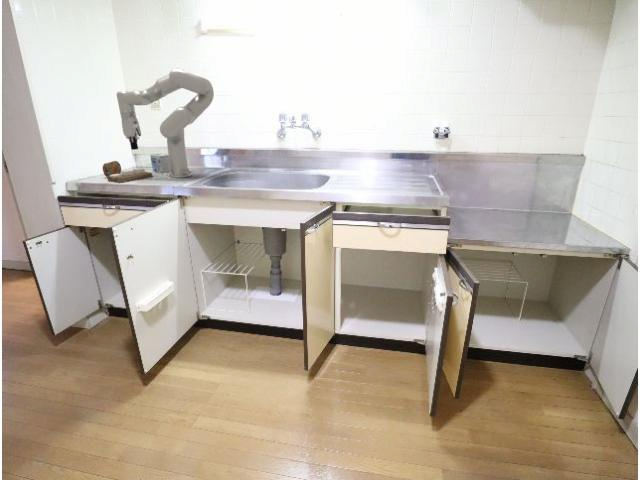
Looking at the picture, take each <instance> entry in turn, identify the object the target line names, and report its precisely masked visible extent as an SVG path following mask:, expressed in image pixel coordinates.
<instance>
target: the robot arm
mask: <svg viewBox="0 0 640 480" xmlns="http://www.w3.org/2000/svg"><path fill="white" fill-rule="evenodd" d="M181 89H184V90H187V91H190V92H192V93H195V94H196V95H195V96H194V97H193V98H191V100H190V101H189V102H188V103H186V104H185V105H184V106H179V107H178V108H176V109H174V110H173V111H172V112H171V113H170V114H169V115H168V117H166V118H165V119H164V120H163V121H162V122H161V123H160V125H159V132H160V134H161V136H162V137H164V138H166V144H167V145H166V146H167V153H168V154H167V155H169V161H170V167H171V172H170V174H168V177H169V178H174V179H178V178H179V179H182V178H189V177H190V176H191V177H192V171H191V170H190V168H189V167H188V158H187V157H188V156H187V151H186V143H185V130H184V129H185V128H186V127H188V126H189V125H192V124H193V123H194V122H195V121H196V120H197V119H198V118H199V117H200V116H201V115H202V114H203V113H204V112H205V111H206V110H207V109H208V108H209V107H210V106H211V104H212V102H213V100H214V96H215V93H214V87H213V85H212V83H211V81H210V80H209V79H207V78H205V77H203V76H198V75H196V74H193V73H191V72H188V71H187V70H184V69H182V68H179V67H178V68H177V67H175V68H173V69H171V70H170V72H169V73H168V74H167V75H164V76H162V77H160V78H158V79H156V81H155V83H154V84H153V85H152V86H150V87H148V88H145V89H144V90H130V91H127V90H125V91H122V90H120V91H117V92H116V98H117V102H118V109H119V115H120V119H121V127H122V132H123V135H124V137H125V139H127V140H128V141H129V144H130V149H131V150H134V151H135V150H139V145H138V140H139V139H140V137H141V136H142V131H141V126H140V122H139V120H138V118H137V115H136V110H135V106H148V105H150V104H153V103H154V102H157V101H160V100H161V99H162V98H165V97H166V96H167V95H170V94H172V93H174V92H176V91H178V90H181Z"/></svg>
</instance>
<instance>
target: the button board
mask: <svg viewBox="0 0 640 480" xmlns="http://www.w3.org/2000/svg"><path fill="white" fill-rule="evenodd" d="M121 175H122V173H121ZM106 178H107V182H110V181H111V182H110V183H116V182H117V184H121V183H127V182H133V181H134V182H135V181H139V180H144V179H149V178H150V179H151V178H153V173H152V172H147V171H145V172H144V173H134V174H132V175H122V176H120V177H110V176H108V177H106Z"/></svg>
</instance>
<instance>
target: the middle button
mask: <svg viewBox="0 0 640 480" xmlns="http://www.w3.org/2000/svg"><path fill="white" fill-rule="evenodd" d="M121 174H122V175H132V174H134V173H133V169H131V170H130V169H126V170H121Z"/></svg>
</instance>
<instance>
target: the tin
mask: <svg viewBox="0 0 640 480" xmlns="http://www.w3.org/2000/svg"><path fill="white" fill-rule="evenodd" d="M121 171H122V166H121V164H120V162H119V161H117V160H114V161H113V160H112V161H110V162H106V163H104V164H103V165H102V172H103V175H104V176H105V177H106V178H107V177H108V176H110V175H113V174H122V173H121Z"/></svg>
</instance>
